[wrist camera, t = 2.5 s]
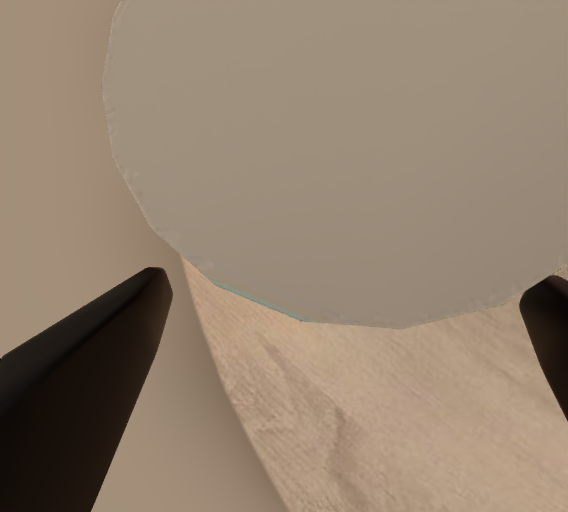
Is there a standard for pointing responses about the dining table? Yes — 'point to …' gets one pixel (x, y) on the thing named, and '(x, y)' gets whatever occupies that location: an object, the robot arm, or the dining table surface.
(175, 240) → the cartoon face cylinder
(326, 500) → the dining table surface
